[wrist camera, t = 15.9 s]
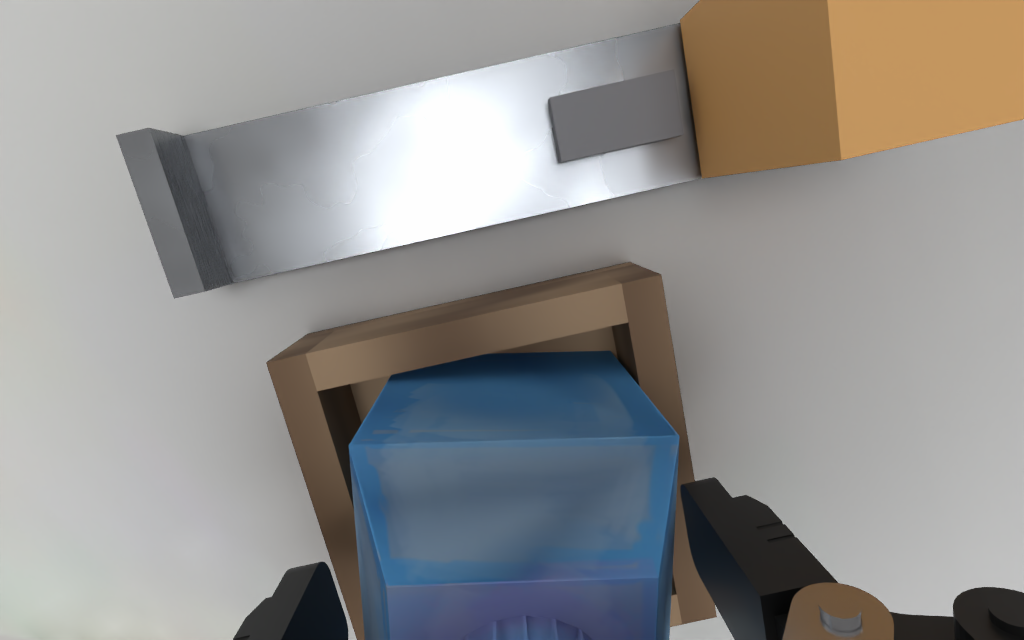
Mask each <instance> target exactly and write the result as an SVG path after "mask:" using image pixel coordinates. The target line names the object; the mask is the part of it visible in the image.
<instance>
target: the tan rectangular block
mask: <svg viewBox="0 0 1024 640" xmlns="http://www.w3.org/2000/svg"><path fill="white" fill-rule="evenodd" d="M680 24H681V31H682V39H683V46H684V53H685V60H686V67H687V74H688V81H689V88H690V95H691V103H692V110H693V117H694V124H695V131H696V138H697V145H698V152H699V160H700V167H701V174H702V178H709V177H717V176H724V175H732V174H740V173H747V172H755V171H762V170H770V169H777V168H785V167H793V166H800V165H808V164H815V163H823V162H831V161H838V160H844V159H848V158H853V157H857V156H862V155H866V154H871V153H875V152H880V151H884V150H889V149H893V148H898V147H902V146H906V145H911V144H915V143H920V142H924V141H929V140H933V139H938V138H942V137H947V136H951V135H956V134H960V133H965V132H969V131H973V130H978V129H982V128H987V127H991V126H996V125H1000V124H1005V123H1009V122H1014V121H1018V120H1023V119H1024V0H700V1H699V2H698V3H697V4H696V5H695V6H694V7H693V8H692V9H691V10H690V11H689V12H688V13H687V14H686V15H685V16H684V17H683V18H682V19H681V20H680ZM548 106H549V111H550V116H551V121H552V127H553V132H554V137H555V142H556V147H557V152H558V158H559V163H564V162H569V161H573V160H577V159H582V158H586V157H591V156H595V155H600V154H604V153H609V152H613V151H617V150H622V149H626V148H631V147H635V146H640V145H644V144H649V143H653V142H657V141H662V140H666V139H671V138H675V137H679V136H681V135H684V133H683V126H682V119H681V112H680V105H679V98H678V91H677V84H676V78H675V71H674V69H673V70H668V71H664V72H660V73H655V74H651V75H646V76H642V77H637V78H633V79H629V80H624V81H620V82H615V83H611V84H607V85H602V86H598V87H593V88H589V89H584V90H580V91H576V92H571V93H567V94H562V95H558V96H553V97H549V99H548Z"/></svg>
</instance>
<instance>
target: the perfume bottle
mask: <svg viewBox="0 0 1024 640" xmlns="http://www.w3.org/2000/svg"><path fill="white" fill-rule="evenodd" d="M678 455H679V435H678V434H677V432H676V431H675V430H674V429H673V427H672V426H671V425H670V424H669V422H668V421H667V420H666V419H665V418H664V416H663V415H662V414H661V413H660V411H659V410H658V409H657V408H656V406H655V405H654V404H653V403H652V402H651V400H650V399H649V398H648V397H647V395H646V394H645V393H644V392H643V390H642V389H641V388H640V387H639V385H638V384H637V383H636V382H635V381H634V379H633V378H632V377H631V376H630V374H629V373H628V372H627V371H626V369H625V368H624V367H623V366H622V365H621V363H620V362H619V361H618V360H617V358H616V357H615V356H614V355H613V353H612V352H611V351H575V352H535V353H494V354H483V355H479V356H474V357H470V358H465V359H461V360H456V361H452V362H447V363H443V364H438V365H434V366H429V367H425V368H420V369H416V370H411V371H406V372H402V373H397V374H393V375H391V376H390V378H389V379H388V381H387V383H386V384H385V386H384V388H383V389H382V391H381V393H380V394H379V396H378V398H377V399H376V401H375V403H374V404H373V406H372V408H371V409H370V411H369V413H368V414H367V416H366V418H365V419H364V421H363V423H362V424H361V426H360V428H359V429H358V431H357V433H356V434H355V436H354V438H353V439H352V441H351V443H350V444H349V456H350V468H351V480H352V492H353V504H354V516H355V528H356V540H357V552H358V564H359V576H360V587H361V599H362V611H363V623H364V635H365V640H669V633H670V613H671V593H672V574H673V554H674V534H675V514H676V495H677V475H678Z"/></svg>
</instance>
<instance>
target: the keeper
mask: <svg viewBox="0 0 1024 640" xmlns="http://www.w3.org/2000/svg"><path fill="white" fill-rule="evenodd" d="M575 351H611V352H612V353H613V355H614V356H615V357H616V358H617V360H618V361H619V362H620V363H621V365H622V366H623V367H624V368H625V369H626V371H627V372H628V373H629V374H630V376H631V377H632V378H633V379H634V381H635V382H636V383H637V384H638V385H639V387H640V388H641V389H642V390H643V392H644V393H645V394H646V395H647V397H648V398H649V399H650V400H651V402H652V403H653V404H654V405H655V406H656V408H657V409H658V410H659V411H660V413H661V414H662V415H663V416H664V418H665V419H666V420H667V421H668V422H669V424H670V425H671V426H672V427H673V429H674V430H675V431H676V432H677V434H678V435H679V455H678V475H677V495H676V514H675V534H674V554H673V574H672V593H671V613H670V627H672V626H677V625H682V624H686V623H691V622H695V621H700V620H705V619H709V618H714V617H717V616H716V610H715V604H714V601H713V600H712V598H711V596H710V594H709V593H708V591H707V589H706V587H705V585H704V584H703V582H702V580H701V578H700V576H699V574H698V572H697V570H696V567H695V564H694V561H693V558H692V555H691V551H690V546H689V541H688V535H687V529H686V523H685V517H684V511H683V505H682V499H681V493H680V486H681V485H682V484H685V483H690V482H695V480H694V474H693V468H692V462H691V455H690V449H689V443H688V437H687V431H686V424H685V418H684V412H683V406H682V400H681V394H680V387H679V381H678V375H677V369H676V363H675V357H674V350H673V344H672V338H671V332H670V326H669V319H668V313H667V307H666V301H665V295H664V289H663V282H662V276H661V274H658V273H656V272H653V271H651V270H648V269H646V268H643V267H641V266H639V265H636V264H634V263H631V262H628V263H624V264H619V265H615V266H610V267H606V268H601V269H597V270H592V271H588V272H583V273H579V274H574V275H570V276H565V277H561V278H556V279H552V280H547V281H543V282H538V283H534V284H529V285H525V286H520V287H516V288H511V289H507V290H502V291H498V292H493V293H489V294H484V295H480V296H475V297H471V298H466V299H462V300H457V301H453V302H449V303H444V304H440V305H435V306H431V307H426V308H422V309H417V310H413V311H408V312H404V313H399V314H395V315H390V316H386V317H381V318H377V319H372V320H368V321H363V322H359V323H354V324H350V325H345V326H341V327H336V328H332V329H327V330H323V331H318V332H314V333H309V334H307V335H305V336H304V337H302V338H301V339H300V340H298V341H297V342H295V343H294V344H292V345H291V346H289V347H288V348H287V349H285V350H284V351H282V352H281V353H279V354H278V355H276V356H275V357H274V358H272V359H271V360H269V361H268V362H266V364H267V367H268V370H269V373H270V376H271V379H272V382H273V385H274V388H275V391H276V394H277V397H278V400H279V403H280V406H281V409H282V412H283V415H284V418H285V421H286V424H287V427H288V431H289V434H290V437H291V440H292V443H293V446H294V449H295V452H296V455H297V458H298V461H299V464H300V467H301V470H302V473H303V476H304V479H305V482H306V485H307V488H308V491H309V495H310V498H311V501H312V504H313V507H314V510H315V513H316V516H317V519H318V522H319V525H320V528H321V531H322V534H323V537H324V540H325V543H326V546H327V549H328V552H329V555H330V559H331V562H332V565H333V568H334V571H335V574H336V577H337V580H338V583H339V586H340V589H341V592H342V595H343V598H344V601H345V604H346V607H347V610H348V613H349V616H350V619H351V622H352V626H353V629H354V632H355V635H356V638H357V640H365V635H364V623H363V611H362V599H361V587H360V576H359V564H358V552H357V540H356V528H355V516H354V504H353V492H352V480H351V468H350V456H349V444H350V443H351V441H352V439H353V438H354V436H355V434H356V433H357V431H358V429H359V428H360V426H361V424H362V423H363V421H364V419H365V418H366V416H367V414H368V413H369V411H370V409H371V408H372V406H373V404H374V403H375V401H376V399H377V398H378V396H379V394H380V393H381V391H382V389H383V388H384V386H385V384H386V383H387V381H388V379H389V378H390V376H391V375H393V374H397V373H402V372H406V371H411V370H416V369H420V368H425V367H429V366H434V365H438V364H443V363H447V362H452V361H456V360H461V359H465V358H470V357H474V356H479V355H483V354H494V353H535V352H575Z"/></svg>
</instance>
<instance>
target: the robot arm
mask: <svg viewBox="0 0 1024 640" xmlns="http://www.w3.org/2000/svg"><path fill="white" fill-rule="evenodd" d="M680 493H681V499H682V505H683V511H684V517H685V523H686V529H687V535H688V541H689V546H690V551H691V555H692V558H693V561H694V564H695V567H696V570H697V572H698V574H699V576H700V578H701V580H702V582H703V584H704V585H705V587H706V589H707V591H708V593H709V594H710V596H711V598H712V600H713V601H714V603H715V605H716V607H717V609H718V610H719V612H720V614H721V616H722V618H723V619H724V621H725V623H726V625H727V627H728V628H729V630H730V632H731V634H732V636H733V637H734V639H735V640H1024V593H1022V592H1019V591H1015V590H1010V589H1005V588H996V587H982V588H974V589H970V590H967V591H965V592H962V593H961V594H960V595H958V596H957V598H956V599H955V600H954V604H953V616H954V617H946V616H924V615H907V614H898V613H893V612H889V611H888V609H887V608H886V607H885V606H884V604H883V603H882V602H880V601H879V600H878V599H877V598H875V597H874V596H872V595H871V594H869V593H867V592H865V591H863V590H861V589H858V588H856V587H853V586H849V585H845V584H840V583H838V582H837V581H836V580H835V579H834V578H833V577H832V575H831V574H830V573H829V572H828V571H827V570H826V569H825V568H824V567H823V566H822V565H821V563H820V562H819V561H818V560H817V559H816V558H815V557H814V556H813V555H812V554H811V553H810V551H809V550H808V549H807V548H806V547H805V546H804V545H803V544H802V543H801V542H800V541H799V539H798V538H797V537H796V538H795V537H794V534H793V533H792V532H791V531H790V530H789V529H788V527H787V526H786V525H785V524H784V525H783V524H782V521H781V520H780V519H779V518H778V517H777V516H776V514H775V513H774V512H773V511H772V510H771V509H770V508H769V507H768V506H767V505H765V504H763V503H761V502H759V501H757V500H755V499H753V498H751V497H749V496H747V495H744V496H739V497H735V498H732V497H731V496H730V495H729V493H728V492H727V491H726V490H725V489H724V487H723V486H722V485H721V484H720V482H719V481H718V480H717V479H716V478H714V477H713V478H708V479H704V480H699V481H695V482H690V483H685V484H682V485H681V486H680ZM233 640H348V626H347V621H346V617H345V614H344V611H343V608H342V605H341V602H340V599H339V596H338V593H337V590H336V587H335V584H334V581H333V578H332V575H331V572H330V569H329V567H328V565H327V564H326V563H325V562H319V563H314V564H309V565H305V566H300V567H296V568H291V569H289V570H287V571H286V573H285V574H284V576H283V578H282V580H281V582H280V583H279V585H278V587H277V589H276V590H275V592H274V594H273V596H272V597H270V598H266V599H265V600H264V601H263V602H261V603H260V604H259V605H258V606H257V607H256V608H255V609H254V610H253V611H252V612H251V613H250V614H249V615H248V616H247V617H246V618H245V620H244V622H243V623H242V625H241V627H240V628H239V630H238V632H237V634H236V635H235V637H234V639H233Z"/></svg>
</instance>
